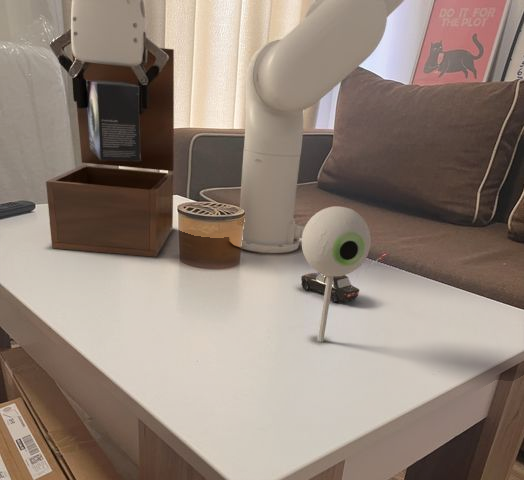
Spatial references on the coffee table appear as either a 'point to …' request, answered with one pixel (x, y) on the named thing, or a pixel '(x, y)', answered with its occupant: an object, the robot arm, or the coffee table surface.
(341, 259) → the lollipop
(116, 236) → the chest
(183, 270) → the coffee table surface
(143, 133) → the lid
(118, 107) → the small box
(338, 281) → the toy car
